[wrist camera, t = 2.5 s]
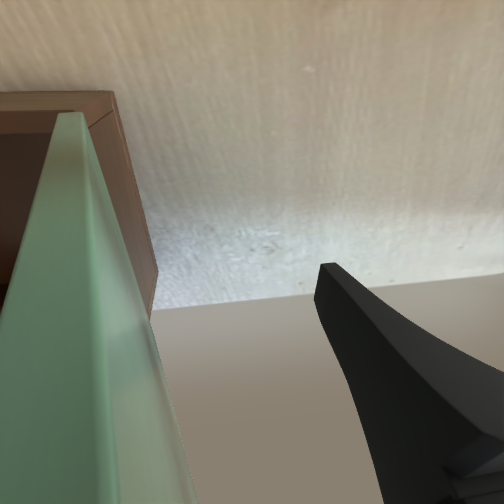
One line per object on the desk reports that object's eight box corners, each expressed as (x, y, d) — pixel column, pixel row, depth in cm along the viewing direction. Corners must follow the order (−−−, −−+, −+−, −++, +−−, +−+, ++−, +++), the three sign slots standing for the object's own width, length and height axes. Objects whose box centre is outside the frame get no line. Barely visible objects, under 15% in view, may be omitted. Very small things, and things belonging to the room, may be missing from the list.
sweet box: (-32, 288, 21) (-99, 358, 16) (-190, 93, 13) (-403, 118, 8) (158, 271, 22) (147, 330, 18) (113, 90, 15) (74, 109, 10)
